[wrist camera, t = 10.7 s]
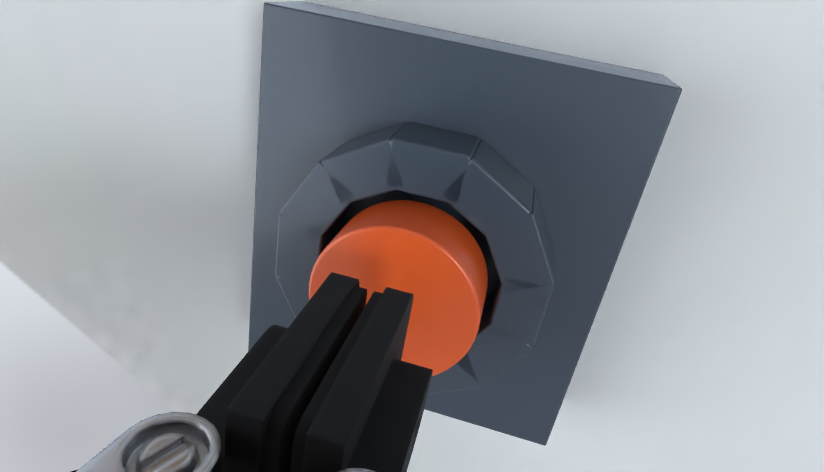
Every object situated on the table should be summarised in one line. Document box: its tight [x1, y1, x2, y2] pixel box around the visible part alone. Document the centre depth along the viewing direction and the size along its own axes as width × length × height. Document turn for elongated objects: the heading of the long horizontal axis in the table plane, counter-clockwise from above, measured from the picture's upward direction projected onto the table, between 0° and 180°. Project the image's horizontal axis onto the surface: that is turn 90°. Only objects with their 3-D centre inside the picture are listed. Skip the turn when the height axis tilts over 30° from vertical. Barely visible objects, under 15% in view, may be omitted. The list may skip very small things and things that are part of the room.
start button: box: [309, 200, 488, 376], centre depth 13 cm, size 4×4×2 cm
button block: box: [248, 1, 682, 445], centre depth 15 cm, size 11×10×4 cm
